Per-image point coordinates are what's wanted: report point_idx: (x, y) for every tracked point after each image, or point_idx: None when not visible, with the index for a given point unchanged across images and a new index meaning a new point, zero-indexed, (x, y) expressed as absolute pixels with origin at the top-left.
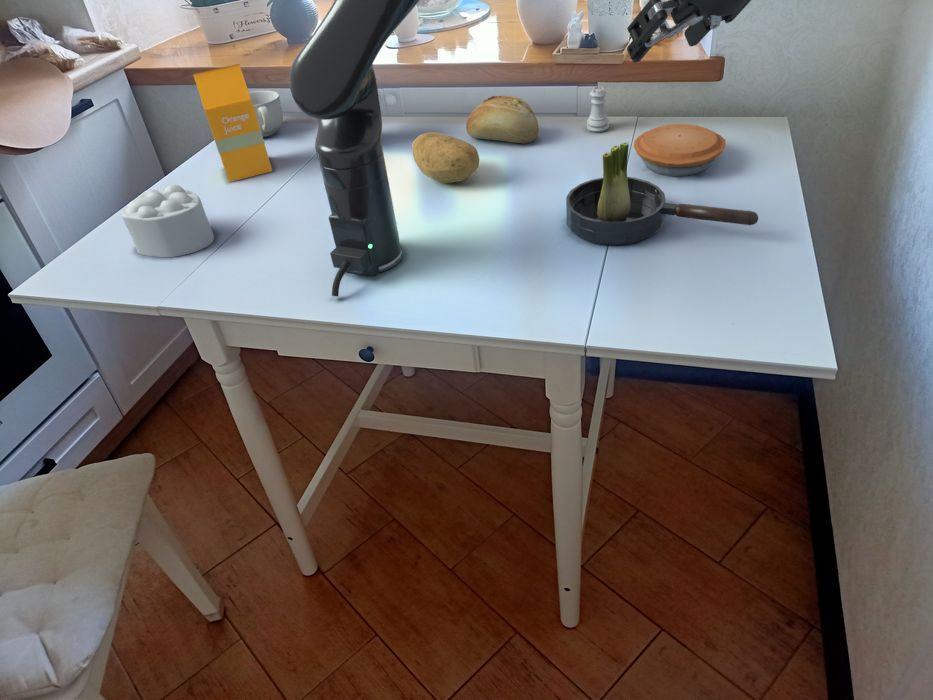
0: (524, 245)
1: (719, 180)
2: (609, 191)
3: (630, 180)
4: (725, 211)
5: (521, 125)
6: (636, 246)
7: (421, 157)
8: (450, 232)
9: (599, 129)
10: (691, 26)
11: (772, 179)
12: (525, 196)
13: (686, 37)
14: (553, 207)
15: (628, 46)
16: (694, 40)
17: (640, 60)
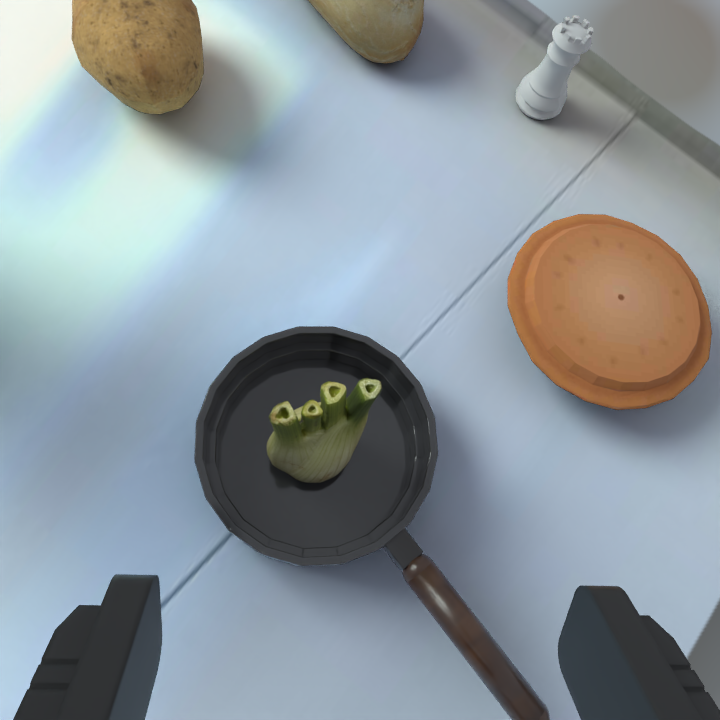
0: (93, 407)
1: (616, 444)
2: (284, 451)
3: (408, 382)
4: (489, 669)
5: (367, 25)
6: (287, 570)
7: (73, 11)
8: (5, 260)
9: (532, 113)
10: (618, 662)
11: (715, 515)
12: (233, 236)
13: (572, 611)
14: (251, 312)
15: (49, 645)
16: (582, 696)
17: (154, 675)
